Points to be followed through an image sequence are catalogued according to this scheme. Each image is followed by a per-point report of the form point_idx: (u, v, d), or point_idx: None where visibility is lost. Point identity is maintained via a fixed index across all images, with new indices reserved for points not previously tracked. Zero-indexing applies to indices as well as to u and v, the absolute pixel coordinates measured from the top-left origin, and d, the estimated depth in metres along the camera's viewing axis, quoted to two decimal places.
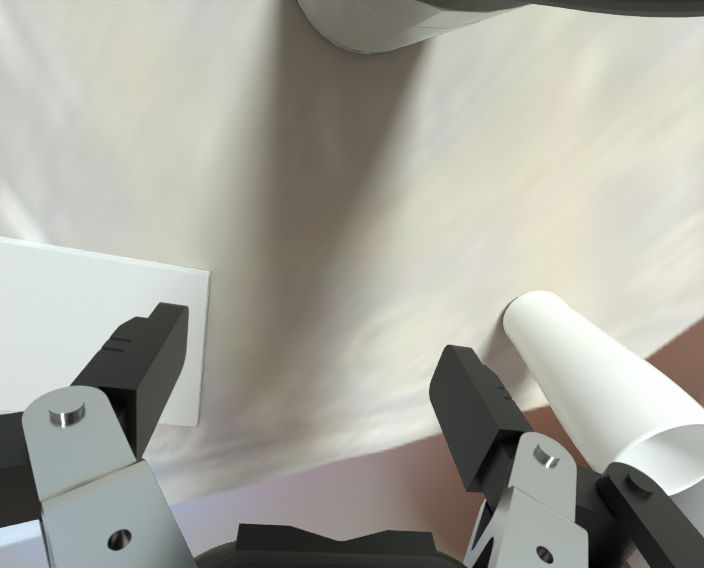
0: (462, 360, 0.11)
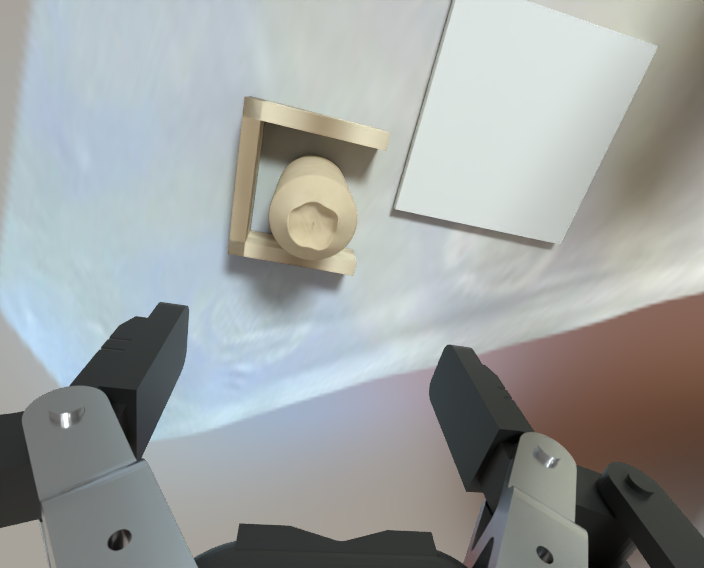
0: (462, 360, 0.11)
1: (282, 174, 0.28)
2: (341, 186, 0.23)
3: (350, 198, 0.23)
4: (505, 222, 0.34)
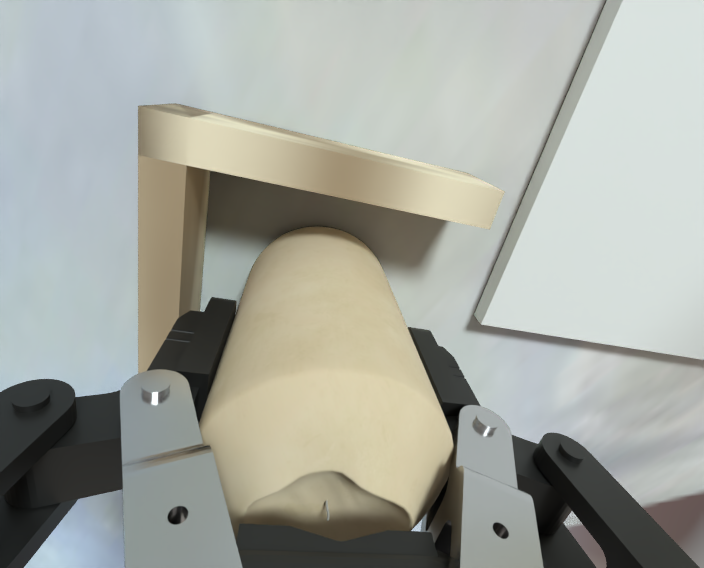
0: (418, 341, 0.12)
1: (250, 279, 0.13)
2: (415, 394, 0.07)
3: (440, 423, 0.08)
4: (683, 339, 0.18)
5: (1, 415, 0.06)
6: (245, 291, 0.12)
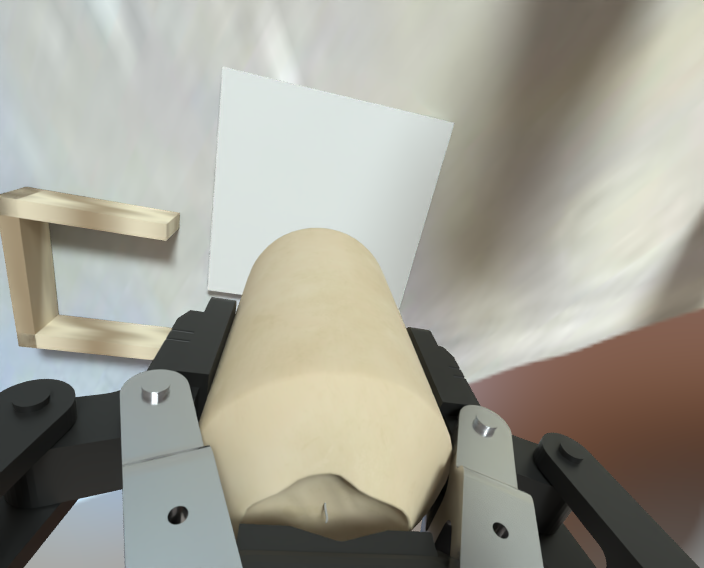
0: (418, 341, 0.12)
1: (249, 281, 0.13)
2: (414, 396, 0.07)
3: (439, 425, 0.08)
4: None
5: (1, 415, 0.06)
6: (244, 293, 0.12)
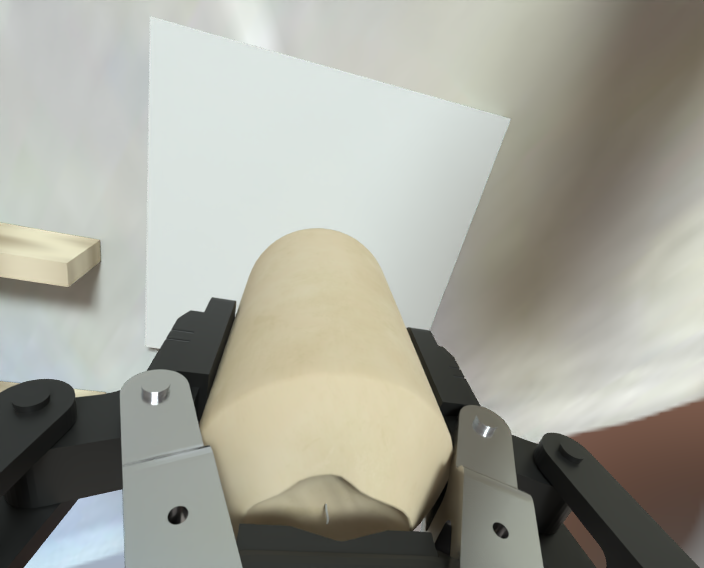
0: (418, 341, 0.12)
1: (249, 281, 0.13)
2: (415, 397, 0.07)
3: (440, 426, 0.08)
4: None
5: (1, 415, 0.06)
6: (245, 293, 0.12)
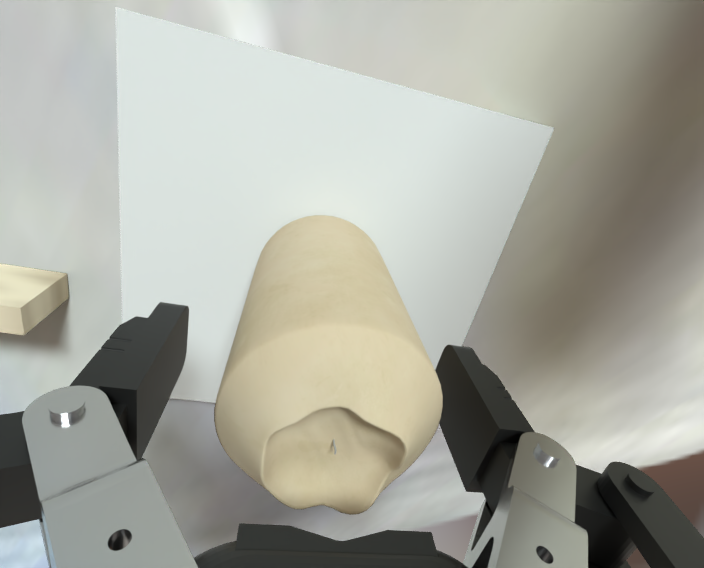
0: (462, 360, 0.11)
1: (260, 261, 0.14)
2: (410, 347, 0.09)
3: (431, 373, 0.09)
4: None
5: None
6: (257, 271, 0.13)
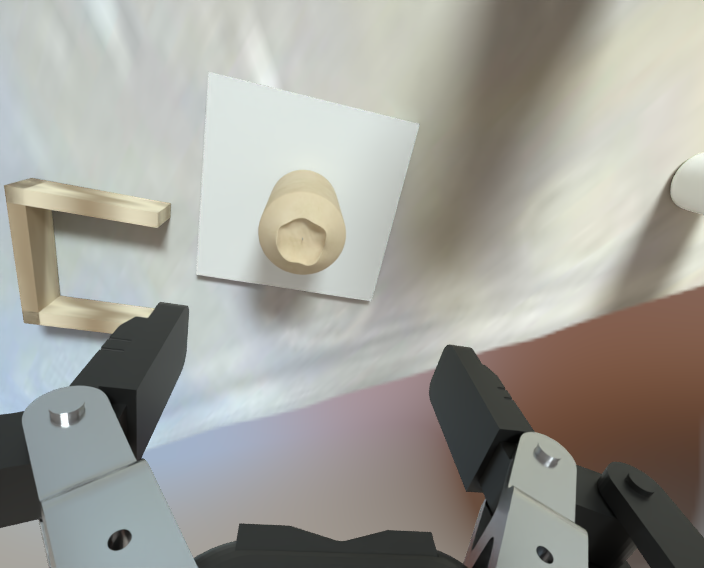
0: (462, 360, 0.11)
1: (273, 189, 0.29)
2: (329, 202, 0.23)
3: (338, 214, 0.24)
4: (310, 283, 0.35)
5: None
6: (271, 192, 0.28)
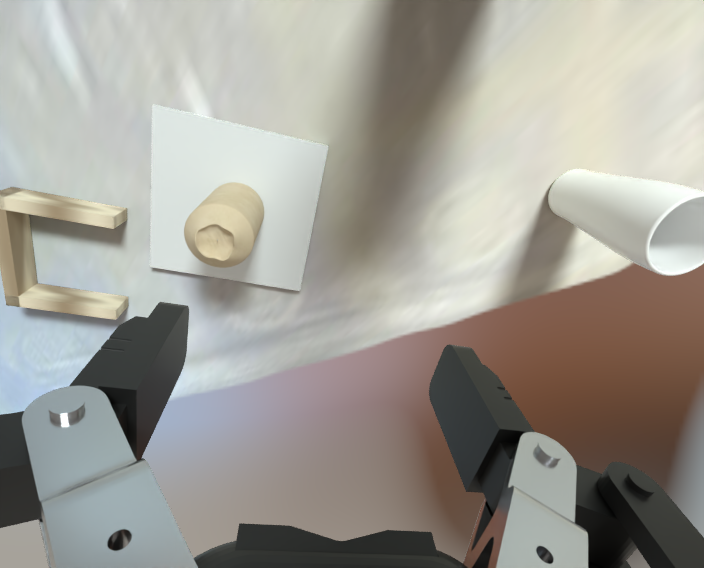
0: (462, 360, 0.11)
1: None
2: (238, 212, 0.30)
3: (246, 221, 0.31)
4: (246, 275, 0.42)
5: None
6: None
